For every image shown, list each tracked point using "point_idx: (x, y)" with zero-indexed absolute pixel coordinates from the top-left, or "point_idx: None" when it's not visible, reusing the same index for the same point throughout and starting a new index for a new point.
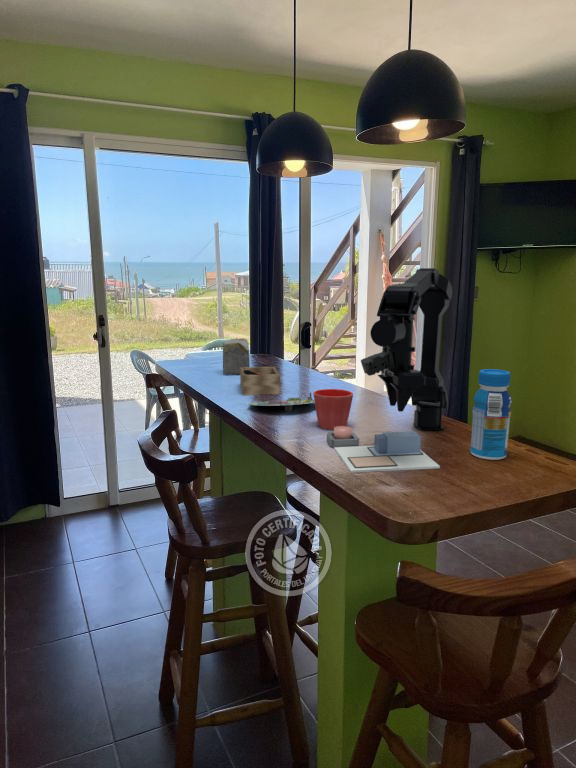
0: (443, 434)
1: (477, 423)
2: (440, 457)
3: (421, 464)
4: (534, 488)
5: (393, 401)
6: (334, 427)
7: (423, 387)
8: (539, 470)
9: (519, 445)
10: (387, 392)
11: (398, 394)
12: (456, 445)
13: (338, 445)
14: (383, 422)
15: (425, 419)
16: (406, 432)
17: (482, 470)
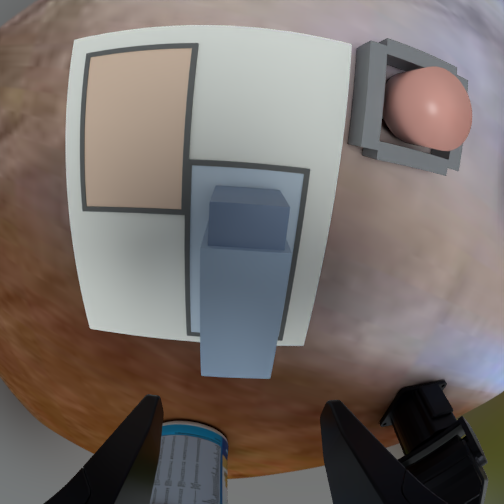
0: None
1: (166, 489)
2: (180, 364)
3: (98, 290)
4: (30, 397)
5: (327, 436)
6: (458, 80)
7: (442, 486)
8: None
9: (238, 476)
10: (397, 464)
11: (56, 496)
12: (269, 421)
13: (360, 62)
14: (494, 322)
15: (413, 415)
16: (260, 350)
17: (92, 390)
